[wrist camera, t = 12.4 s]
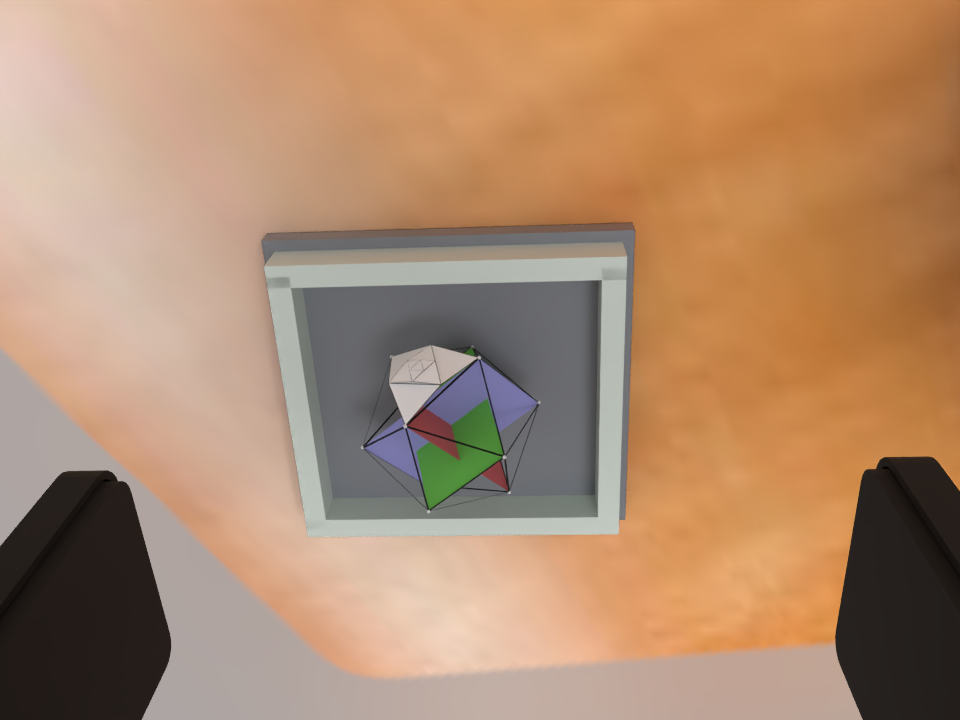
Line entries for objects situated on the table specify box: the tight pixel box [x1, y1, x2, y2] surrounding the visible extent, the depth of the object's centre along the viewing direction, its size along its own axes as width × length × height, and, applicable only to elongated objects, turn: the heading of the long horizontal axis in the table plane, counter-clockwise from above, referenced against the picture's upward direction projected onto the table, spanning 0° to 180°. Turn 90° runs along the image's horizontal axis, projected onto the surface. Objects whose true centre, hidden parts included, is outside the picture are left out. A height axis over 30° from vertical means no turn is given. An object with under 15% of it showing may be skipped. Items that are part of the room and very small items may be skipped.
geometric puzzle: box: [361, 344, 541, 513], centre depth 39 cm, size 7×7×8 cm
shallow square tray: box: [262, 223, 635, 537], centre depth 41 cm, size 16×15×3 cm
